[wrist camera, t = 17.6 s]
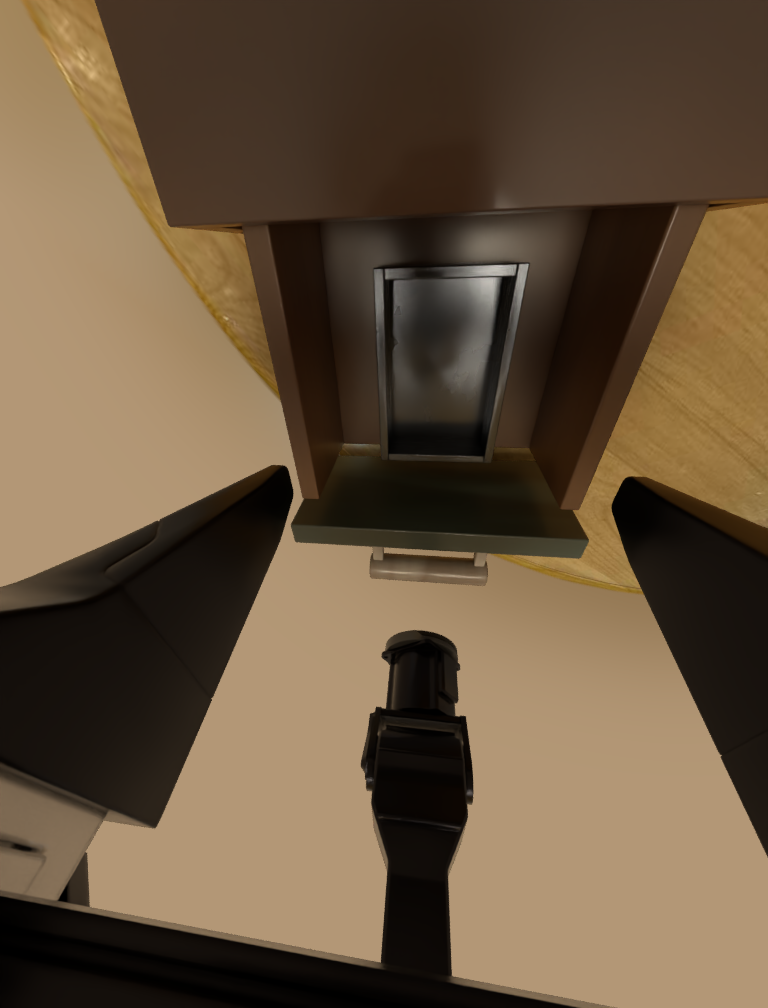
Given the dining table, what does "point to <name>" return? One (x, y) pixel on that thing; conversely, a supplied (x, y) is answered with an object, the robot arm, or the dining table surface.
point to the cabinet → (442, 106)
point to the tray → (444, 356)
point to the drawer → (529, 391)
